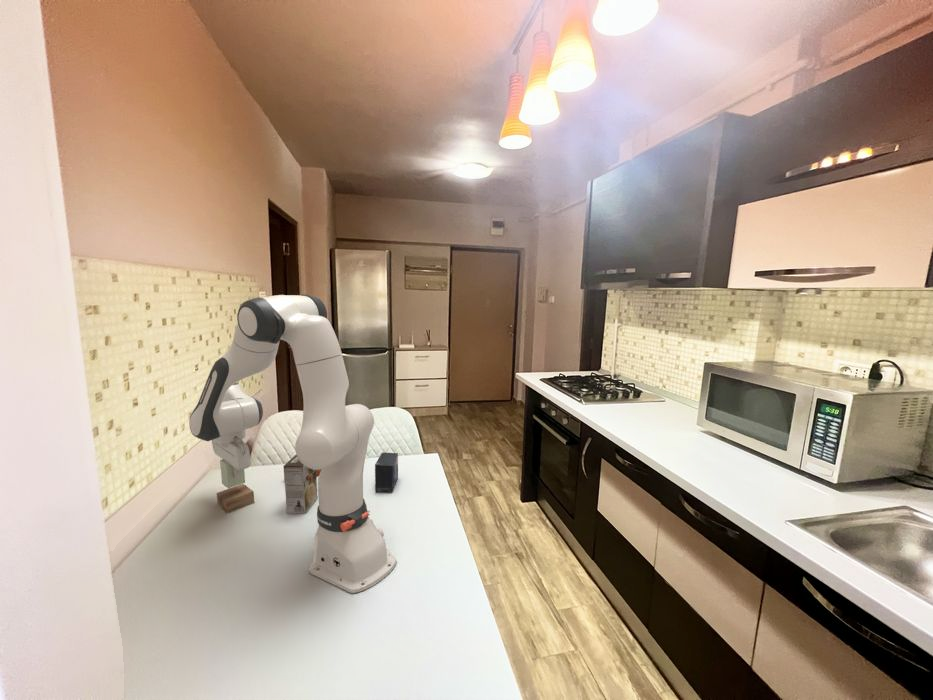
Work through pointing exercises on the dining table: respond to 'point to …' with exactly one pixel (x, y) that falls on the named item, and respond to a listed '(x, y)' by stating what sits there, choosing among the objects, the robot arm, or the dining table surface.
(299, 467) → the coffee box
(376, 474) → the small box
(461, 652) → the dining table surface
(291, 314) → the robot arm
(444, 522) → the dining table surface
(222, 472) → the sage block
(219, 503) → the base block
